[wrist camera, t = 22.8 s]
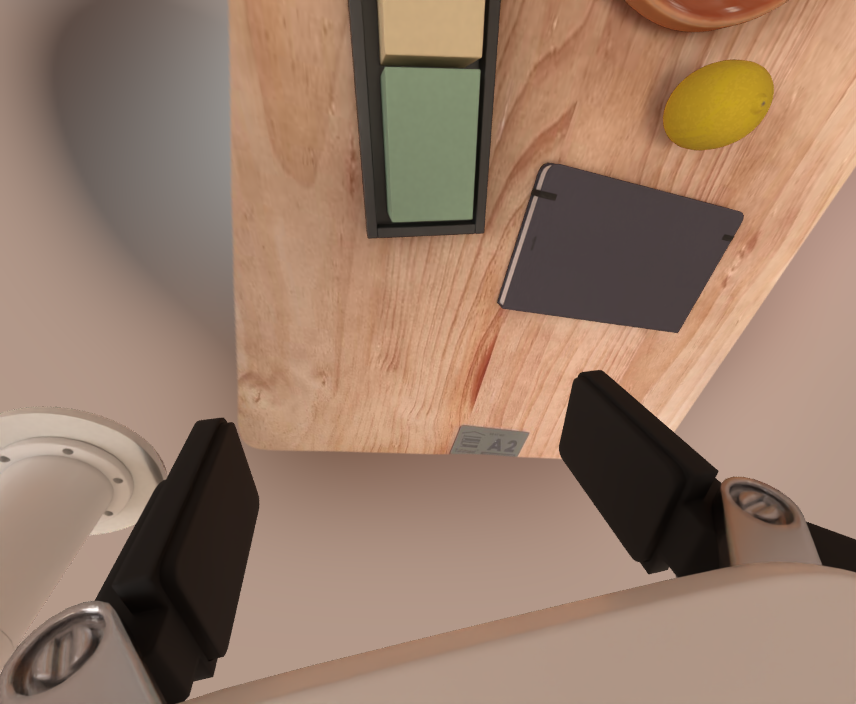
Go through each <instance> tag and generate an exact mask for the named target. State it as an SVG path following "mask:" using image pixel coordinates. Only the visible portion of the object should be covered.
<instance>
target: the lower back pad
mask: <svg viewBox="0 0 856 704" xmlns="http://www.w3.org/2000/svg"><path fill="white" fill-rule="evenodd" d="M480 72H481V71H480V69H448V68H412V67H385V68H384V70H383V72H382V74H381V76H380V86H381V105H382V124H383V143H384V161H385V180H386V199H387V213H388V215H389V217H390V219H391V220H392V222H418V221H444V220H470V219H472V218H473V199H474V181H475V163H476V145H477V127H478V108H479V90H480Z"/></svg>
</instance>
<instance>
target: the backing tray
mask: <svg viewBox="0 0 856 704" xmlns="http://www.w3.org/2000/svg"><path fill="white" fill-rule="evenodd" d="M500 2H501V0H485V12H484V30H483V48H482V58H480V59H478V60H476V61H475V62H473V63H471V64H470V65H468V66H466V67H465V68H454V67H419V66H384V65H380V52H379V33H378V14H377V0H348V7H349V20H350V32H351V44H352V57H353V69H354V81H355V94H356V106H357V118H358V131H359V143H360V155H361V168H362V180H363V192H364V205H365V217H366V229H367V236H368V238H369V239H370V238H392V237H414V236H437V235H459V234H481V233H484V227H485V213H486V199H487V185H488V171H489V157H490V143H491V129H492V115H493V101H494V87H495V73H496V59H497V45H498V31H499V16H500ZM385 67H412V68H448V69H480V71H481V72H480V90H479V108H478V127H477V145H476V163H475V181H474V199H473V218H472V219H470V220H444V221H418V222H392V220H391V219H390V217H389V215H388V213H387V199H386V180H385V161H384V143H383V124H382V105H381V86H380V76H381V74H382V72H383V70H384V68H385Z"/></svg>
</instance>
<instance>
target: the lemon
mask: <svg viewBox="0 0 856 704" xmlns="http://www.w3.org/2000/svg"><path fill="white" fill-rule="evenodd" d="M773 94H774V85H773V81H772V78H771V75H770V74H769V73H768V71H767V70H766V69H765V68H764V67H762V66H760V65H759V64H757V63H754V62H751V61H743V60H725V61H720V62H716V63H712V64H709V65H706V66H704V67H702V68H700V69H699V70H697V71H695V72H693V73H692V74H690V75H689V76H687V77H686V78H685V79H684V80H683V81H682V82H681V83H680V84H679V85H678V86H677V87H676V88H675V90H674V91H673V92H672V94H671V96H670V97H669V99H668V101H667V103H666V106H665V109H664V115H663V126H664V129H665V132H666V134H667V136H668V137H669V139H670V140H671V141H672V142H674V143H675V144H677V145H678V146H680V147H683V148H687V149H691V150H708V149H716V148H720V147H724V146H726V145H729V144H732V143H734V142H736V141H738V140H740V139H742V138H743V137H745V136H746V135H748V134H749V133H750V132H752V131H753V130H754V129H755V128H756V127H757V126H758V125H759V124H760V122H761V121H762V120H763V118H764V117H765V115H766V114H767V112H768V110H769V108H770V105H771V103H772V99H773Z"/></svg>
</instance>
